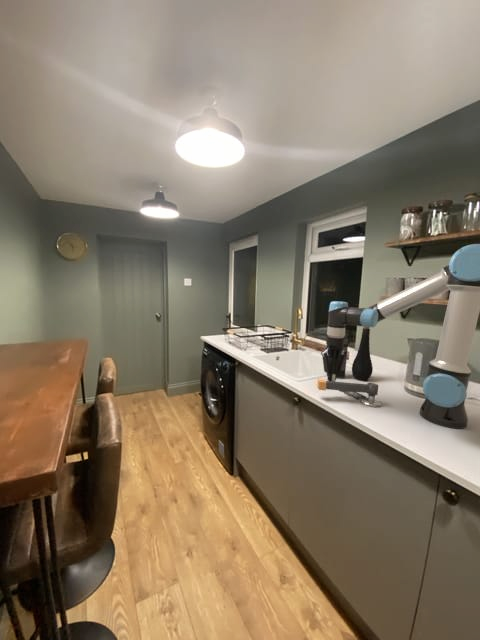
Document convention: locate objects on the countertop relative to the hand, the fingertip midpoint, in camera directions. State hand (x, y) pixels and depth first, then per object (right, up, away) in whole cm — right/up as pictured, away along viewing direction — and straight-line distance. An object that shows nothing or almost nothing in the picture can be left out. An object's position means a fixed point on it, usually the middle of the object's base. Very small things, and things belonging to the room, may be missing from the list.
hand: (330, 387), depth 124 cm
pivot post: (+16, -6, -4) cm, 18 cm away
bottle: (+27, -3, +30) cm, 40 cm away
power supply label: (+13, -5, +4) cm, 14 cm away
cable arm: (+6, -1, -3) cm, 7 cm away
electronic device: (+13, -2, +31) cm, 34 cm away
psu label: (+9, -4, +12) cm, 16 cm away
